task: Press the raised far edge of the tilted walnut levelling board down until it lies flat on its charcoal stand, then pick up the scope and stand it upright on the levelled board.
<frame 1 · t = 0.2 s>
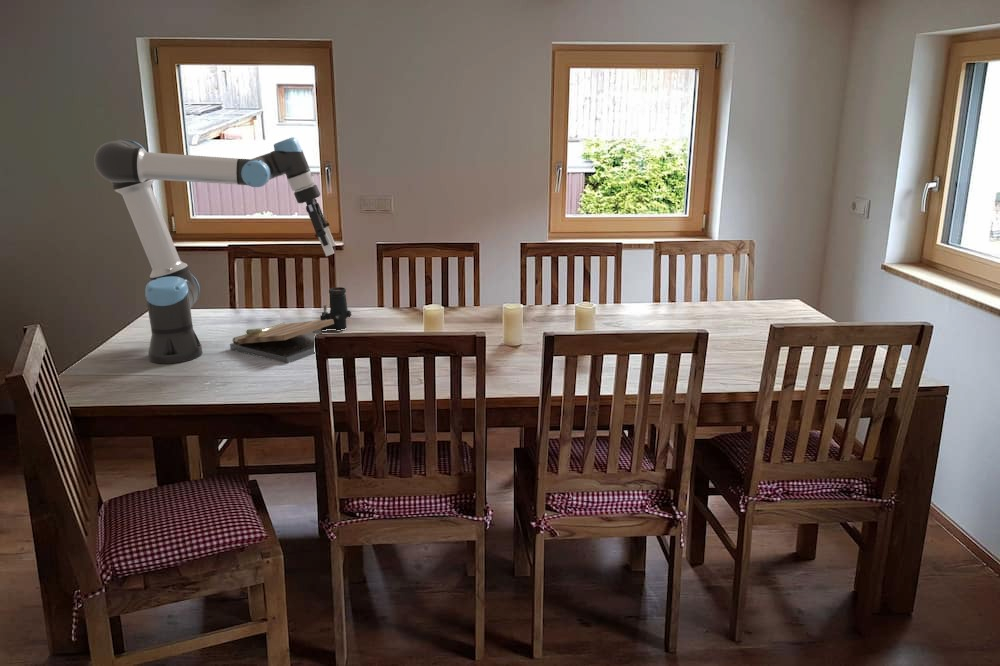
hand: (331, 250, 255), 27 cm above the table, tool tilted 20°, fingers open, 13 cm apart
stand: (286, 346, 249), on the table
board: (285, 328, 247), point 6 cm above the table, hinge at 12.0°
scope: (337, 330, 267), on the table
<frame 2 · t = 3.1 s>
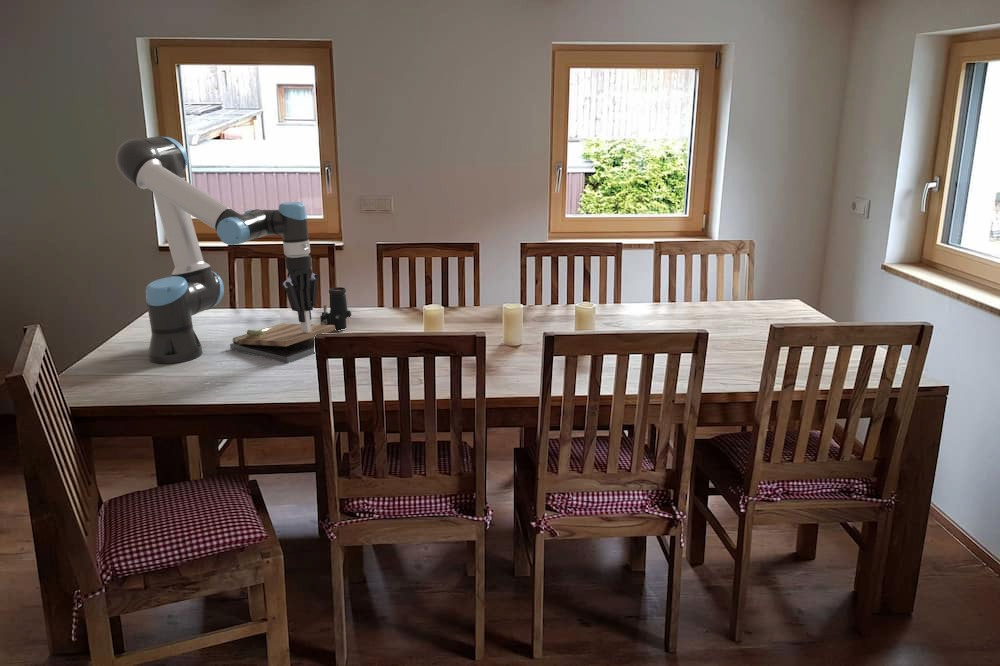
hand: (306, 331, 242), 6 cm above the table, tool pointing down, fingers closed
board: (286, 331, 247), point 5 cm above the table, hinge at 7.0°, touching gripper
everything else where it was.
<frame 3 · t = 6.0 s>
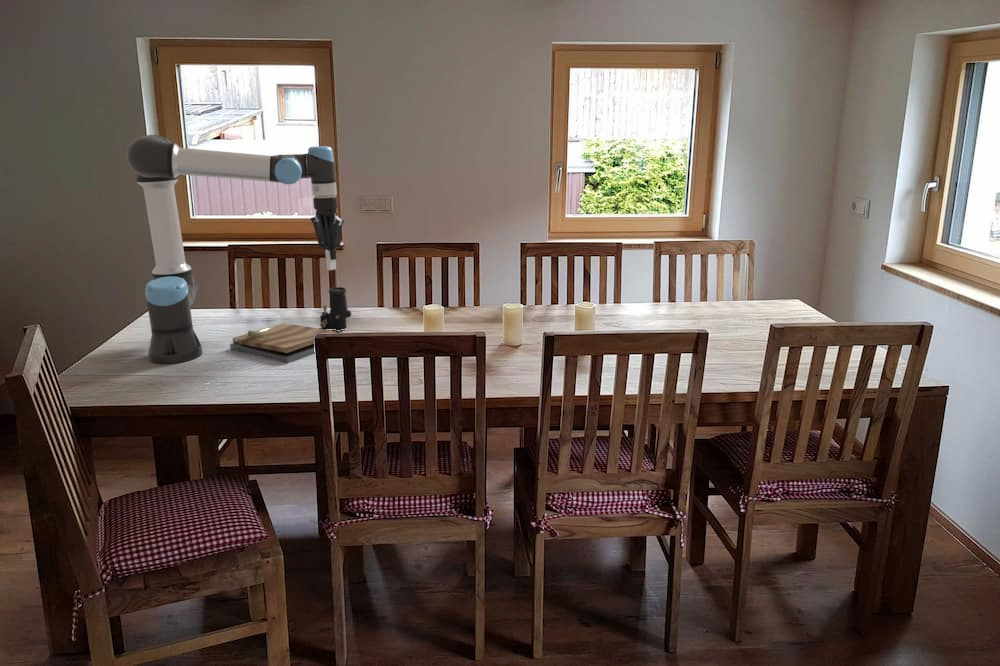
hand: (331, 269, 259), 21 cm above the table, tool pointing down, fingers closed
board: (287, 334, 248), point 4 cm above the table, hinge at 1.8°
everything else where it was.
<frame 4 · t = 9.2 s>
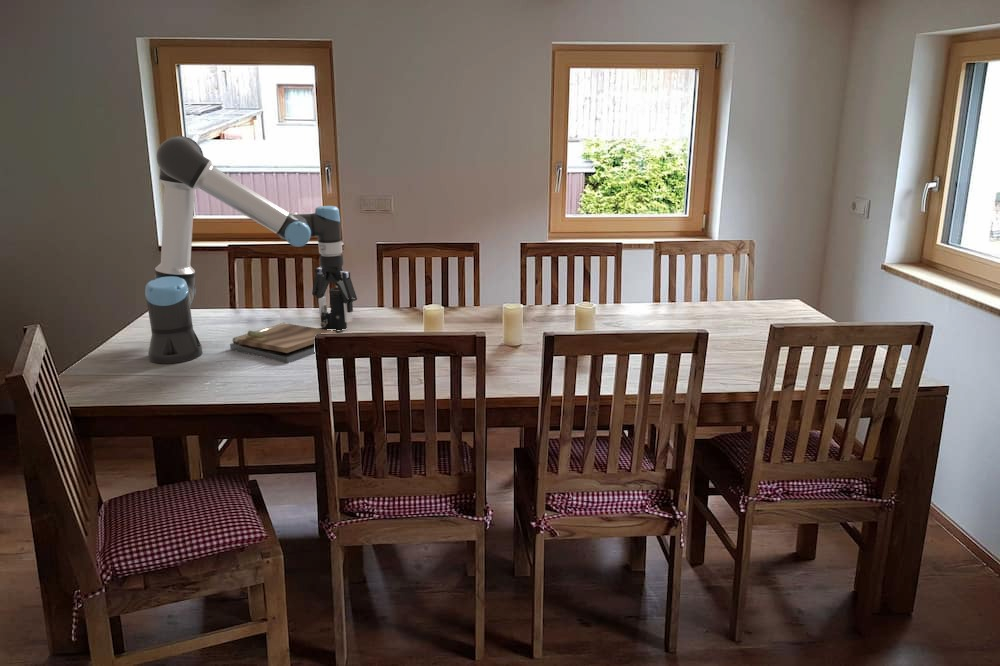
hand: (336, 318, 266), 4 cm above the table, tool pointing down, fingers open, 11 cm apart
scope: (337, 330, 267), on the table, touching gripper
everything else where it was.
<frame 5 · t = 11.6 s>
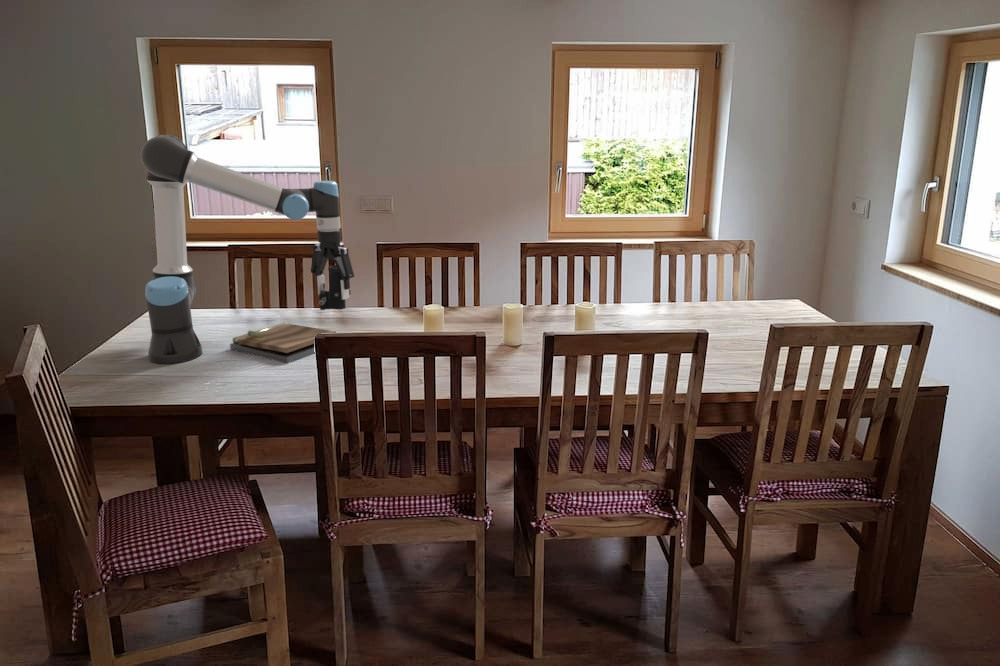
hand: (333, 296, 263), 11 cm above the table, tool pointing down, fingers closed on scope, 10 cm apart
scope: (336, 308, 264), point 7 cm above the table, touching gripper
everything else where it was.
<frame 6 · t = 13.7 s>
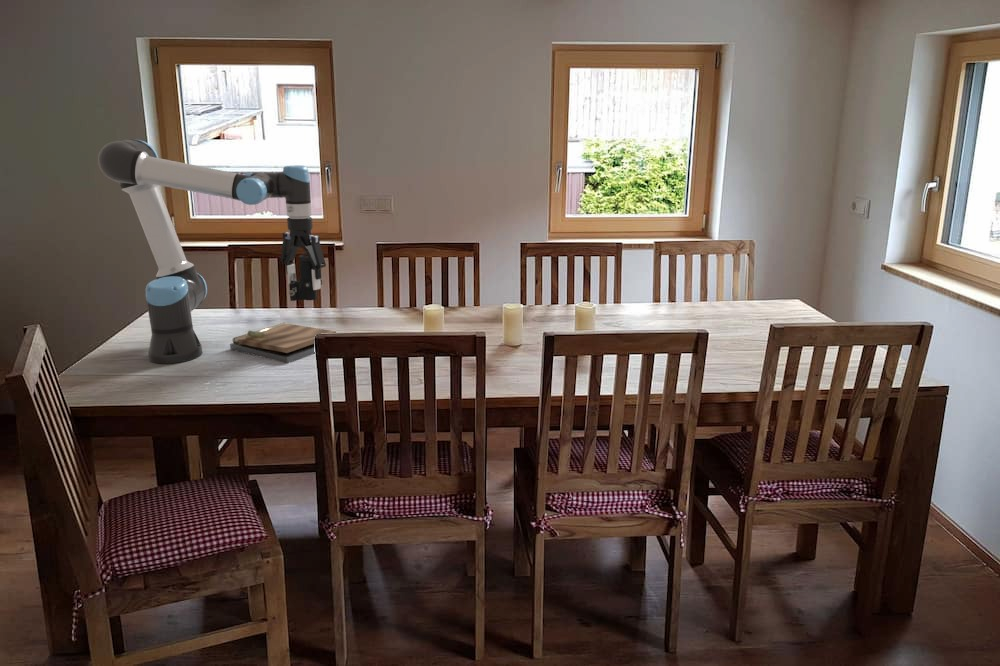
hand: (304, 287, 252), 17 cm above the table, tool pointing down, fingers closed on scope, 10 cm apart
scope: (307, 299, 253), point 13 cm above the table, touching gripper
everything else where it was.
when the fingers open (8 cm above the table, at t = 17.3 s): scope stays where it is, resting on board.
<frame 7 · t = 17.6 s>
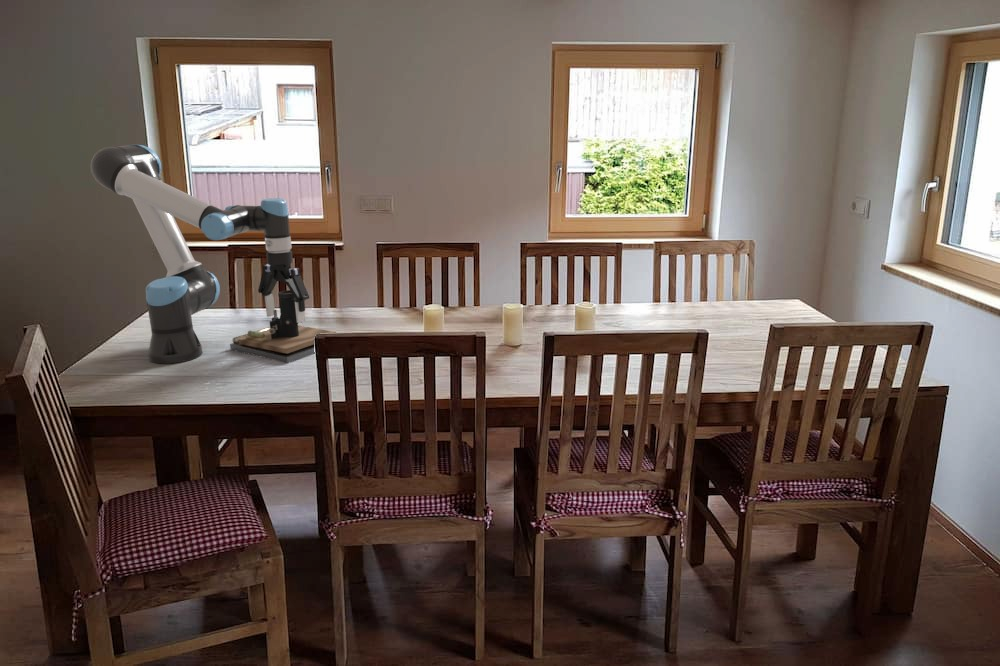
hand: (285, 318, 246), 9 cm above the table, tool pointing down, fingers open, 13 cm apart
board: (287, 334, 248), point 4 cm above the table, hinge at 1.3°, touching scope
scope: (288, 336, 247), point 4 cm above the table, touching board
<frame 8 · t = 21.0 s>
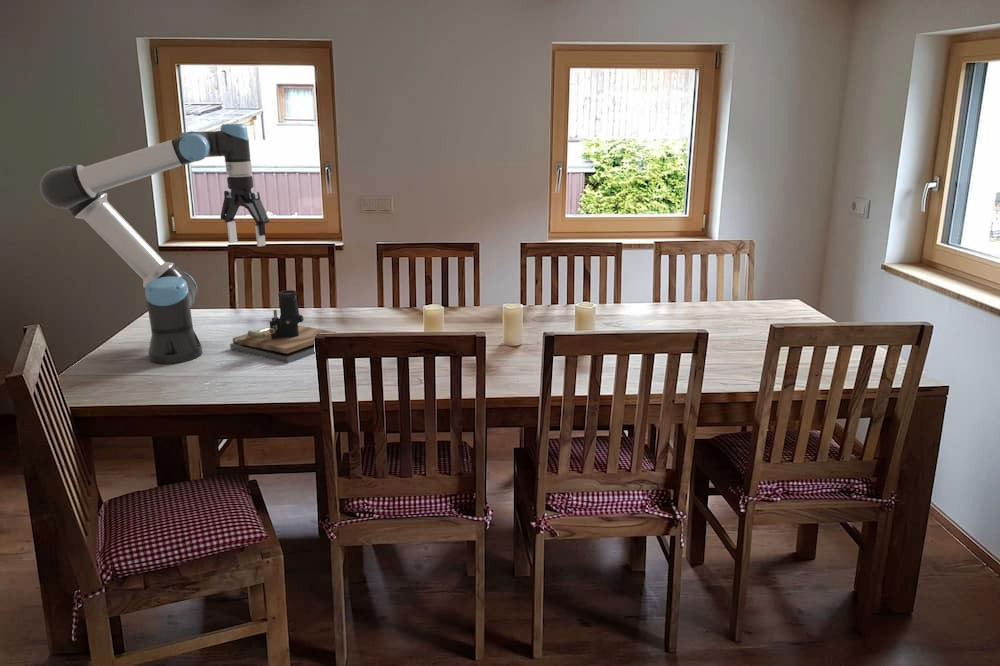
hand: (247, 244, 251), 31 cm above the table, tool pointing down, fingers open, 13 cm apart
nothing on the table moved.
at the end: board at +1° (first picture: +12°); scope inside the target area on the board (0.6 cm from its centre), point 1.6 cm above the board's base; scope tilted 1° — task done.
